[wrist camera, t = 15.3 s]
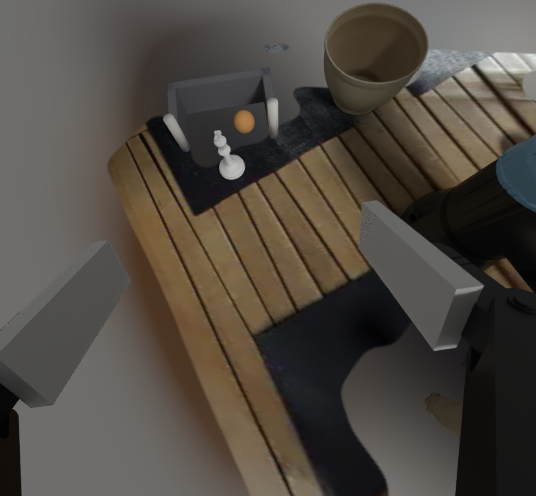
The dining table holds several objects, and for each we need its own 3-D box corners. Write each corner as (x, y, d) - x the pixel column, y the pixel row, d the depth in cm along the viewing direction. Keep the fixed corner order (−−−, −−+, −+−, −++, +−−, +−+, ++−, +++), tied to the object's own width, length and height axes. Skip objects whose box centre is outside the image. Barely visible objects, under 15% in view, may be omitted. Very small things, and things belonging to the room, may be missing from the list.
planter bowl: (304, 77, 51) (311, 18, 41) (376, 55, 52) (402, -9, 41) (332, 141, 48) (347, 94, 37) (410, 117, 48) (447, 64, 38)
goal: (278, 138, 48) (278, 106, 40) (182, 152, 48) (163, 123, 41) (271, 94, 51) (269, 56, 43) (178, 108, 51) (160, 73, 43)
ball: (245, 111, 44) (235, 132, 46) (261, 120, 46) (251, 139, 48) (235, 102, 46) (226, 123, 48) (252, 111, 49) (243, 130, 51)
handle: (409, 387, 38) (493, 441, 23) (452, 384, 37) (563, 435, 23) (416, 423, 36) (509, 503, 22) (460, 420, 36) (582, 498, 22)
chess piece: (248, 160, 47) (236, 122, 37) (239, 182, 46) (224, 149, 36) (225, 153, 48) (208, 115, 38) (215, 175, 47) (195, 141, 37)
